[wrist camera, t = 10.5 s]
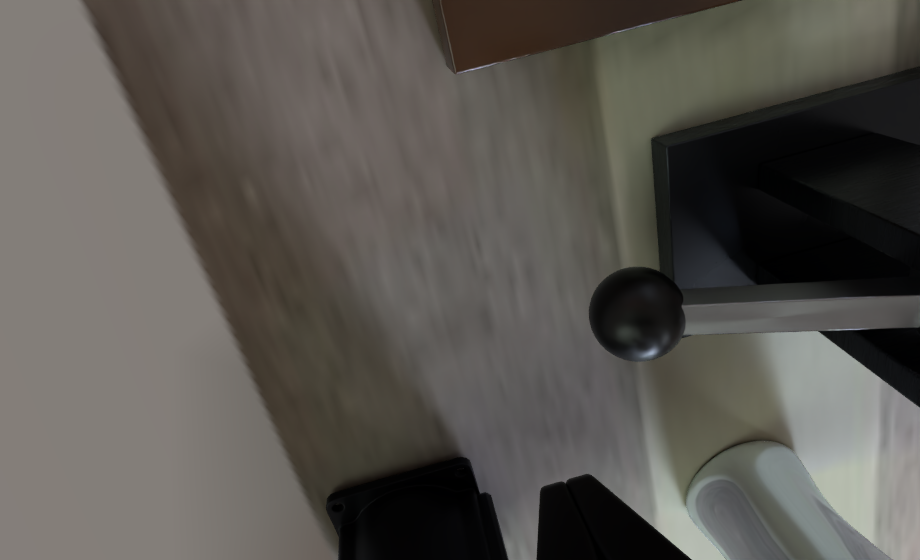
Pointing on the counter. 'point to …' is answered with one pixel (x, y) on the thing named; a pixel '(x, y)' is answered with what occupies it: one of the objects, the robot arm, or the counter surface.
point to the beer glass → (770, 509)
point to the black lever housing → (802, 203)
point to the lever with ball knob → (740, 309)
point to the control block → (541, 25)
